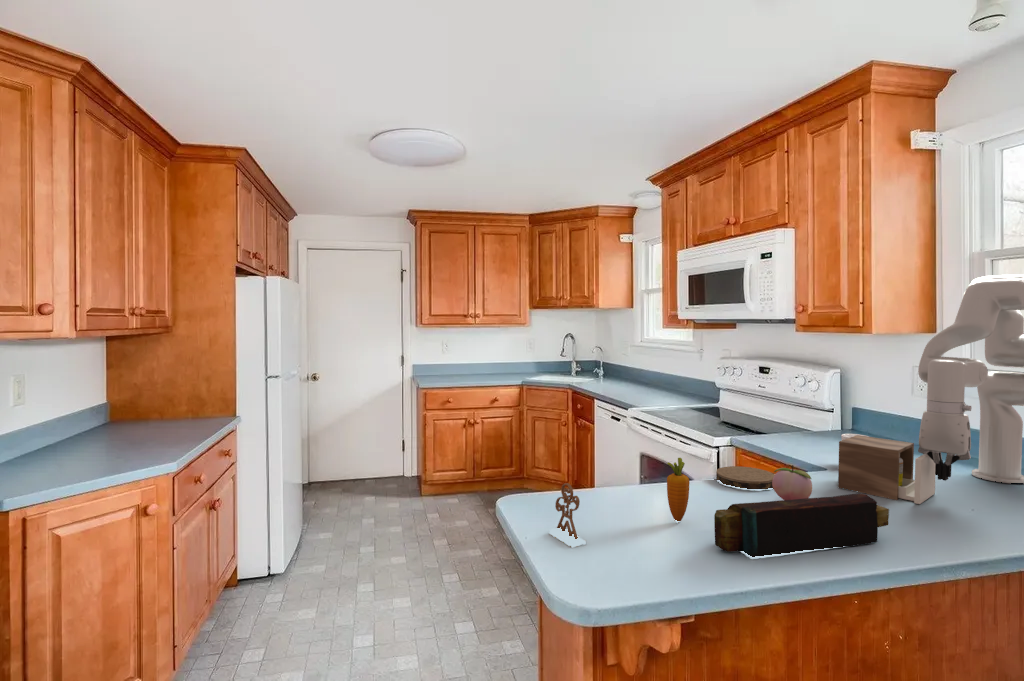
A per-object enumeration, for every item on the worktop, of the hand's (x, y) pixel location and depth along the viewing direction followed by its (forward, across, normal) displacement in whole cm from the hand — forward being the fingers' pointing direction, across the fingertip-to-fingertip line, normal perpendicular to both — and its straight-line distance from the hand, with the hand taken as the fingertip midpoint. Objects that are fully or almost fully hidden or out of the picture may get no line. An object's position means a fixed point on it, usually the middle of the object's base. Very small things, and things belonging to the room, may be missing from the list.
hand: (943, 478), depth 143 cm
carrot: (+6, +36, +65) cm, 74 cm away
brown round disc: (+7, +41, +22) cm, 47 cm away
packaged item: (+6, +13, +55) cm, 57 cm away
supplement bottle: (+5, +12, 0) cm, 13 cm away
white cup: (+6, +27, -21) cm, 35 cm away
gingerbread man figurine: (+6, +46, +91) cm, 102 cm away
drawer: (+6, +10, 0) cm, 11 cm away
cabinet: (+6, +15, 0) cm, 16 cm away
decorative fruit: (+6, +24, +31) cm, 40 cm away
